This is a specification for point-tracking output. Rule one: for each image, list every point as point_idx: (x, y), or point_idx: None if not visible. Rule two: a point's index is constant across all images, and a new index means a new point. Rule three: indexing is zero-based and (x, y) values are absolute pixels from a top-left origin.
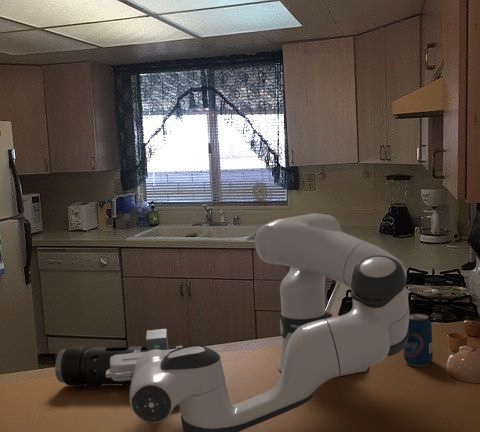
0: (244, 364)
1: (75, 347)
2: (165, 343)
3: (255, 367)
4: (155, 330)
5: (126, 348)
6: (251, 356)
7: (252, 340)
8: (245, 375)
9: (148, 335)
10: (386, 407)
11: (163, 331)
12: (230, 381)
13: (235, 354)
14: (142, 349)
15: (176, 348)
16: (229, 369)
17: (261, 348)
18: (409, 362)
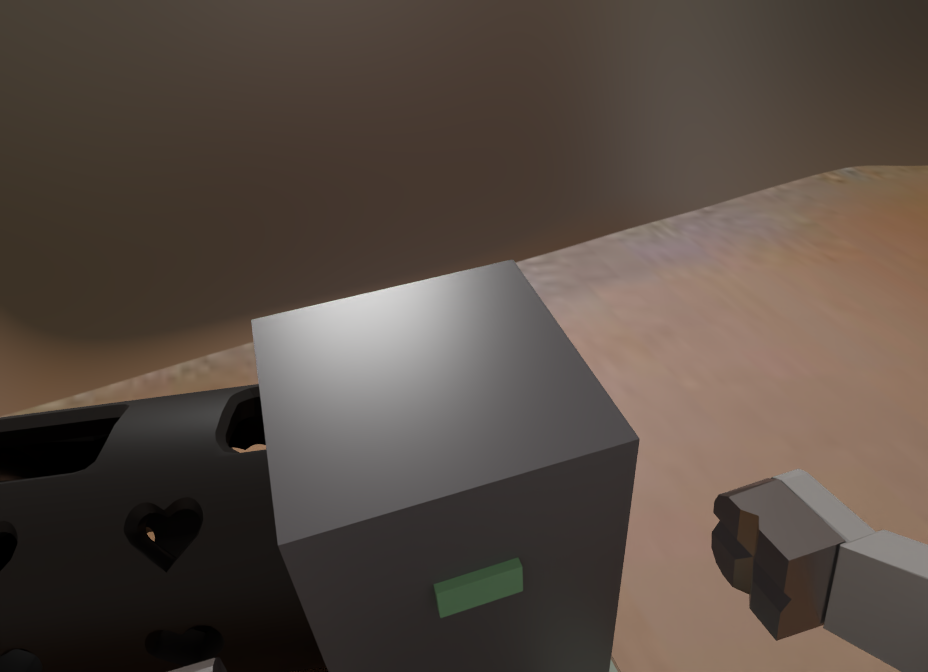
0: (768, 354)
1: None
2: (611, 516)
3: (851, 370)
4: (374, 304)
5: (102, 422)
6: (743, 300)
7: (655, 223)
8: (874, 442)
9: (299, 422)
10: None
11: (501, 309)
12: None
13: (657, 297)
14: (234, 423)
15: (794, 565)
16: (728, 400)
17: (736, 254)
18: None
